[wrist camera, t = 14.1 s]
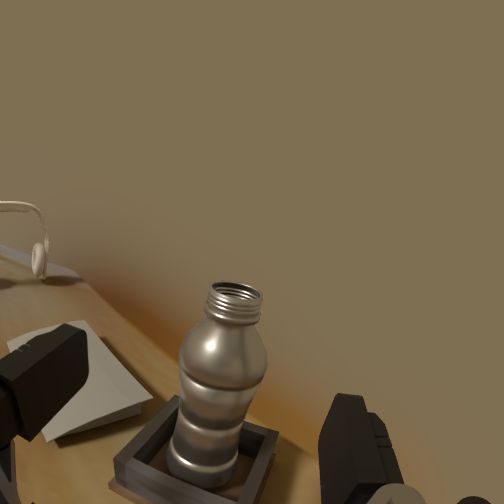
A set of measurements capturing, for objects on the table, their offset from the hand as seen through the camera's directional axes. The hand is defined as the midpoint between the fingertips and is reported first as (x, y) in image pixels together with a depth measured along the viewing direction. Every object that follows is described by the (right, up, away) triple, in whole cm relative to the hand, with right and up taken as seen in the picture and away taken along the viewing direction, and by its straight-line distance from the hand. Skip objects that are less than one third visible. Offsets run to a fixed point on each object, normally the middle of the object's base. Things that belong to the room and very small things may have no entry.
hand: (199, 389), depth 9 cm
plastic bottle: (-4, -18, +17) cm, 25 cm away
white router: (-22, -14, +27) cm, 37 cm away
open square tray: (-4, -19, +17) cm, 26 cm away
